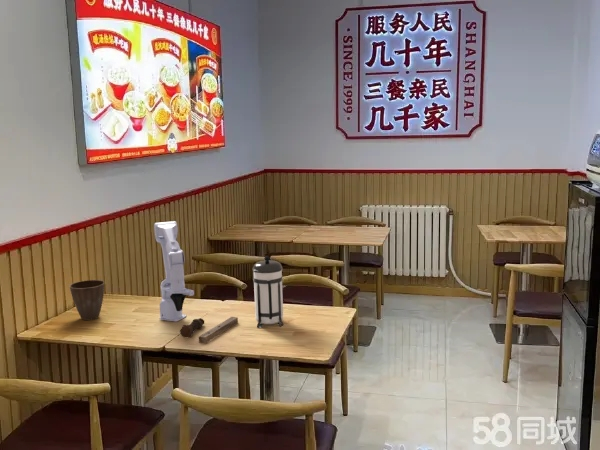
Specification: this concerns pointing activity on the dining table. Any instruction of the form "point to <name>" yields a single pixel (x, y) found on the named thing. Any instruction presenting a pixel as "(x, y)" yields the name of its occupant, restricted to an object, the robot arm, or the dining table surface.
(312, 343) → the dining table surface
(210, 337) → the batten
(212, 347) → the dining table surface
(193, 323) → the bolt
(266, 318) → the coffee press
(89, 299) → the plant pot
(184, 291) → the robot arm
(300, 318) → the dining table surface
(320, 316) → the dining table surface
